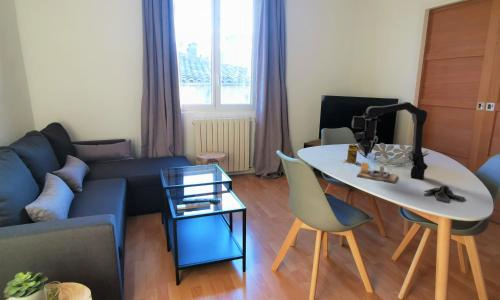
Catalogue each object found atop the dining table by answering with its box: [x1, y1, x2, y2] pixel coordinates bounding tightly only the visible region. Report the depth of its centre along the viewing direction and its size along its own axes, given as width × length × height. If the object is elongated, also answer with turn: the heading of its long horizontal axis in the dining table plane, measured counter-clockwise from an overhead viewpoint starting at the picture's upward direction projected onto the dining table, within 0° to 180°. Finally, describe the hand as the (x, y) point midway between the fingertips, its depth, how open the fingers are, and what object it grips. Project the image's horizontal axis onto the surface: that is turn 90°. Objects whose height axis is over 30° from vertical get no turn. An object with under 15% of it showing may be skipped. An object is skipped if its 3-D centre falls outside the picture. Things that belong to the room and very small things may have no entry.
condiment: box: [342, 143, 358, 165], centre depth 209 cm, size 7×8×12 cm
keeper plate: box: [356, 165, 398, 184], centre depth 178 cm, size 20×13×7 cm, turn 57°
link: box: [360, 161, 390, 178], centre depth 179 cm, size 15×9×6 cm, turn 57°
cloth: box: [423, 185, 466, 204], centre depth 151 cm, size 22×19×6 cm
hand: (367, 154), depth 179 cm, fingers open, 9 cm apart
